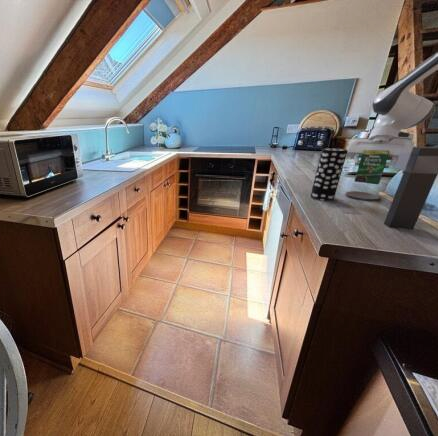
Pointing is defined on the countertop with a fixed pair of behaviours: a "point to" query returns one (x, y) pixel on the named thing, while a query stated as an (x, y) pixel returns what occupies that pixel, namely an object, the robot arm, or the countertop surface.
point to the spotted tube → (328, 174)
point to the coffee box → (371, 166)
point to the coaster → (362, 196)
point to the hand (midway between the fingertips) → (371, 166)
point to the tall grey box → (412, 186)
